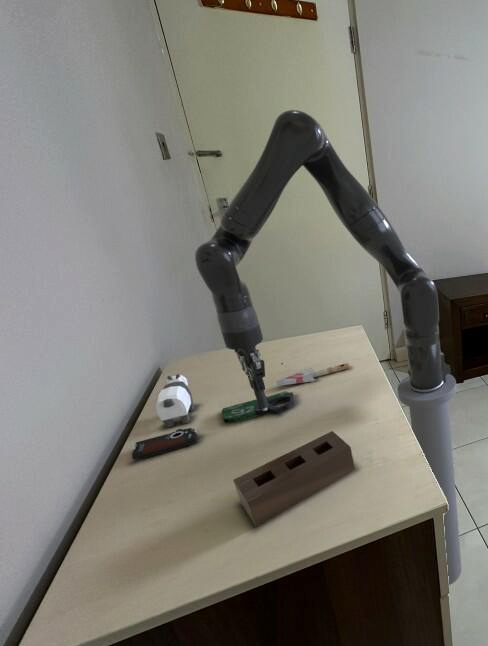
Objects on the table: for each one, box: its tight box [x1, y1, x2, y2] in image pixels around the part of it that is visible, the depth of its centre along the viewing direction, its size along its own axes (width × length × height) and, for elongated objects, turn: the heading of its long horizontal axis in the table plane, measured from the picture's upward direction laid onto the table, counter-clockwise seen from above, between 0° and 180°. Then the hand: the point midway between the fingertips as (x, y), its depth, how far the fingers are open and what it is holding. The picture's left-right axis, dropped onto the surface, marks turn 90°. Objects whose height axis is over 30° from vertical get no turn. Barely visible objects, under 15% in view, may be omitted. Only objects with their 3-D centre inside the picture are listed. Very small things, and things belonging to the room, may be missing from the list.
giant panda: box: [155, 373, 196, 428], centre depth 102 cm, size 15×6×10 cm, turn 29°
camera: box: [131, 427, 198, 461], centre depth 91 cm, size 6×3×11 cm
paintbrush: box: [275, 362, 350, 387], centre depth 119 cm, size 4×3×20 cm
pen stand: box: [232, 430, 356, 528], centre depth 79 cm, size 8×19×6 cm, turn 139°
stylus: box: [248, 372, 269, 411], centre depth 99 cm, size 2×2×12 cm
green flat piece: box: [221, 391, 296, 424], centre depth 104 cm, size 16×1×10 cm
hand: (258, 388), depth 99 cm, fingers closed on stylus, 2 cm apart
